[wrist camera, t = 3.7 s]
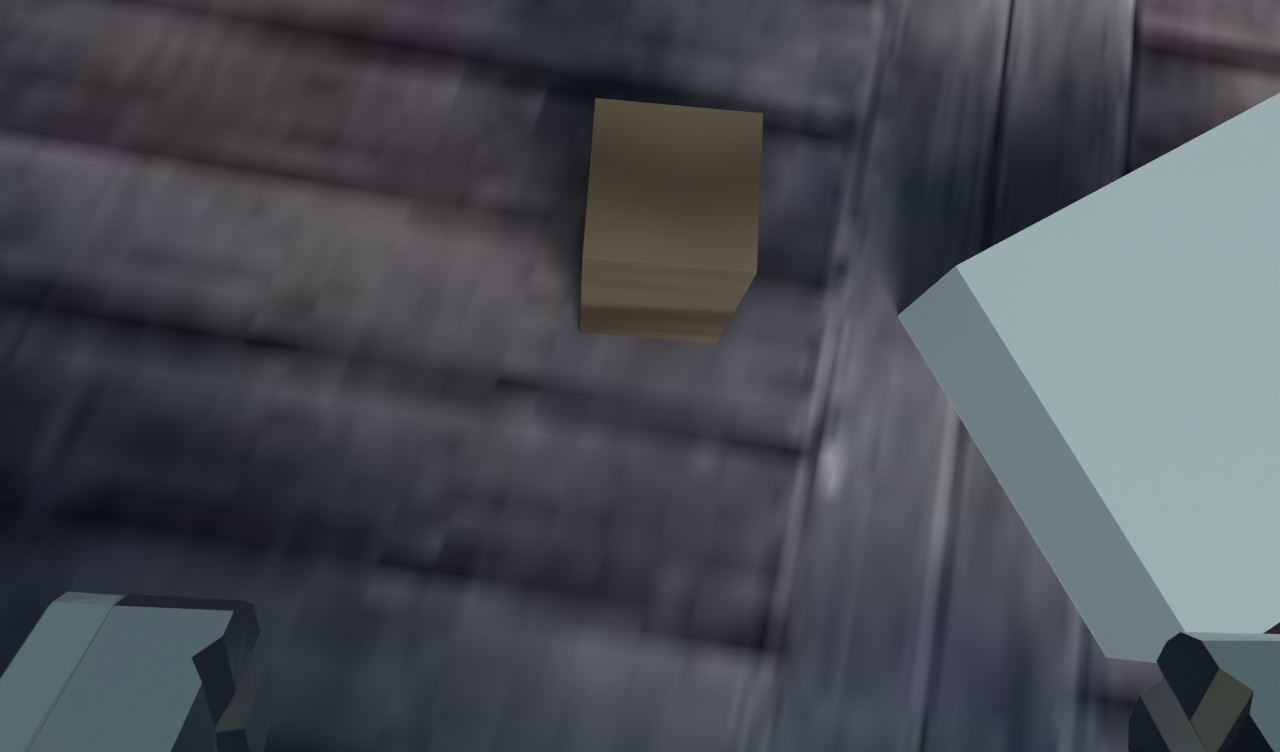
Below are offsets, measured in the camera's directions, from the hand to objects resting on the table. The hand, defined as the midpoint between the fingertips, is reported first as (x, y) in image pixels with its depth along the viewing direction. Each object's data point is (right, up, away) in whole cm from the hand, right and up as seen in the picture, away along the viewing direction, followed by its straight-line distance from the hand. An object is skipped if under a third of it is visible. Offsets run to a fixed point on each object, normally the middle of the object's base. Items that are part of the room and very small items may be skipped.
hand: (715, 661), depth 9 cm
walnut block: (0, +6, +28) cm, 28 cm away
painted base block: (+18, +2, +28) cm, 34 cm away
